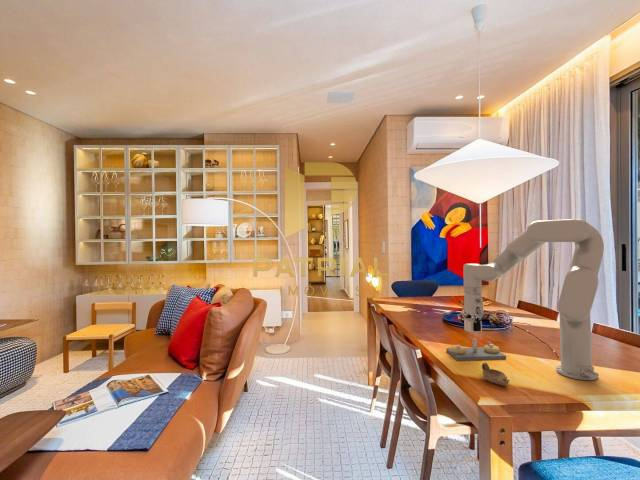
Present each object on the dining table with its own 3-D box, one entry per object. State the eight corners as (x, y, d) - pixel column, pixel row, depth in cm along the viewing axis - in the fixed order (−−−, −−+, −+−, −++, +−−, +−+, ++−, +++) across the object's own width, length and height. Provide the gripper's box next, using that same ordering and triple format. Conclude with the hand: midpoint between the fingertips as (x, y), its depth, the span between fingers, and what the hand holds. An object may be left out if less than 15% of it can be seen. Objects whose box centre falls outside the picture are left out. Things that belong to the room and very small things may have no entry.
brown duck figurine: (515, 388, 115) (514, 374, 115) (495, 389, 115) (494, 375, 115) (492, 373, 128) (492, 361, 128) (474, 374, 128) (474, 362, 128)
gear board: (506, 359, 142) (505, 342, 142) (456, 360, 143) (456, 343, 143) (492, 349, 154) (491, 334, 154) (446, 351, 155) (445, 335, 155)
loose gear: (484, 332, 145) (484, 321, 145) (468, 332, 145) (468, 321, 145) (477, 328, 152) (477, 317, 152) (461, 328, 153) (461, 317, 153)
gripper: (490, 293, 140) (490, 334, 140) (472, 287, 157) (472, 323, 157) (473, 293, 140) (473, 334, 140) (456, 287, 157) (457, 323, 158)
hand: (473, 328), depth 149 cm, fingers closed on loose gear, 7 cm apart
